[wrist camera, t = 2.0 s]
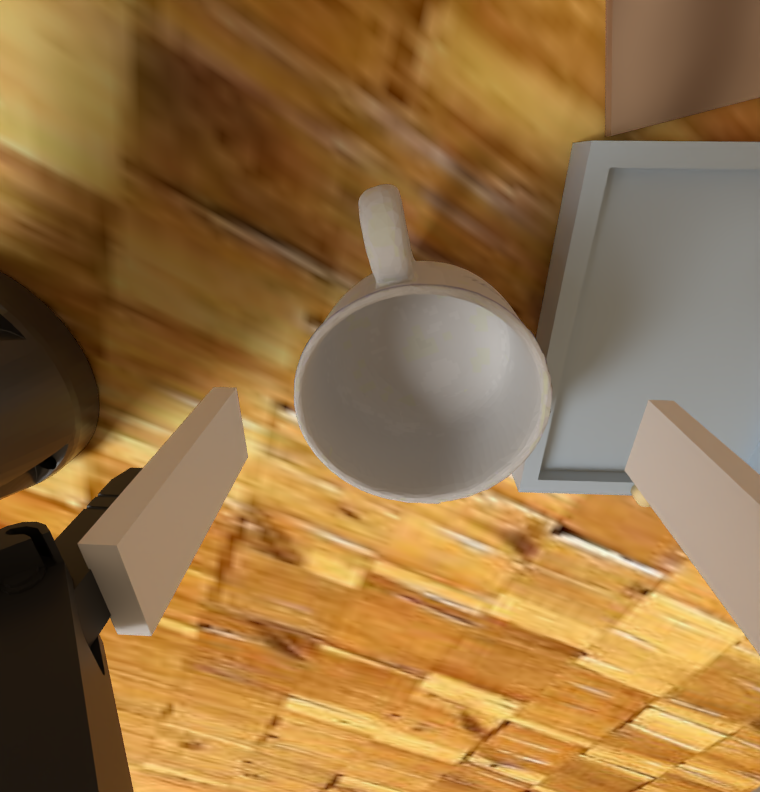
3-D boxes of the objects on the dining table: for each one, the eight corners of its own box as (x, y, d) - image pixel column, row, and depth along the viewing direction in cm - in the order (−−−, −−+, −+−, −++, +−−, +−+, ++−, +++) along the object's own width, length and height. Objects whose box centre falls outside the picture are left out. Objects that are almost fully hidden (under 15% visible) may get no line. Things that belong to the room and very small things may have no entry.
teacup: (499, 421, 27) (534, 510, 20) (329, 423, 28) (306, 511, 21) (526, 174, 21) (593, 179, 14) (303, 182, 21) (257, 191, 14)
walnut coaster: (600, 137, 20) (611, 135, 19) (600, -62, 17) (613, -77, 16) (763, 94, 19) (784, 90, 18) (795, -126, 16) (823, -146, 15)
